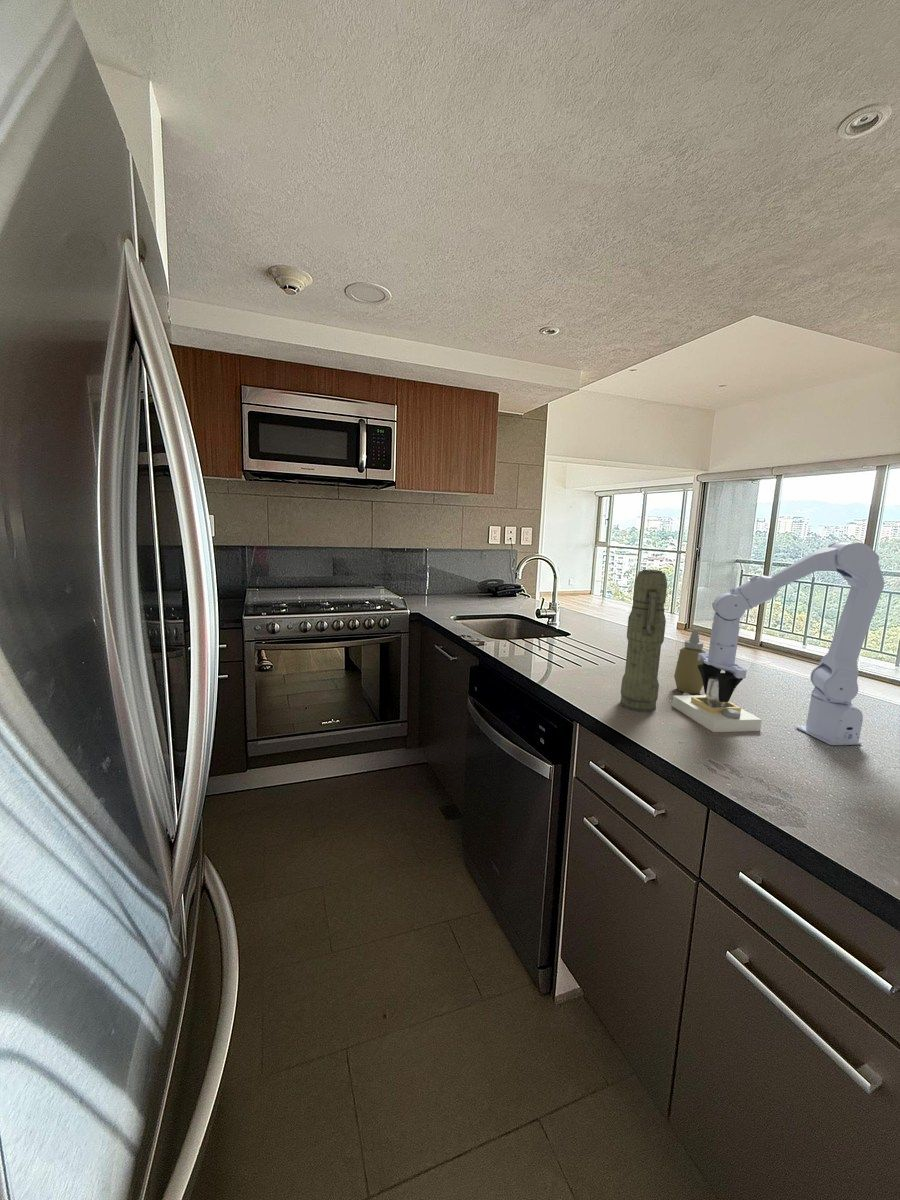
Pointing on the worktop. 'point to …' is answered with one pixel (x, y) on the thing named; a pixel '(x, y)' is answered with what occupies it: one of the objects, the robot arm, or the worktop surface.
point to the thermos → (644, 642)
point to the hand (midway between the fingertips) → (716, 697)
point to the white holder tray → (716, 714)
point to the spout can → (713, 693)
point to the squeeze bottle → (689, 666)
